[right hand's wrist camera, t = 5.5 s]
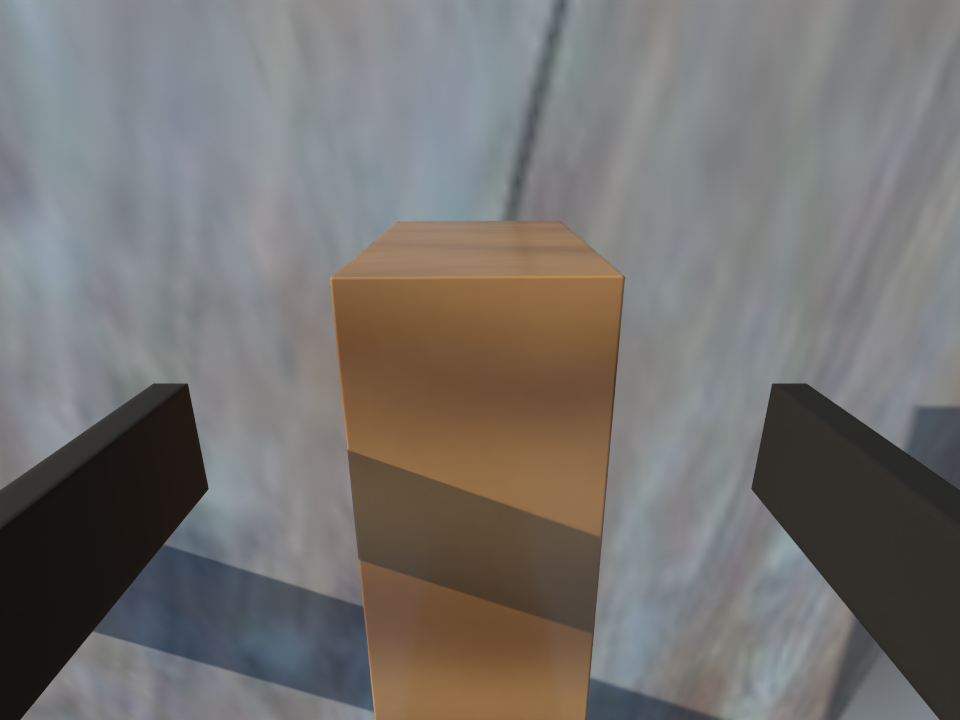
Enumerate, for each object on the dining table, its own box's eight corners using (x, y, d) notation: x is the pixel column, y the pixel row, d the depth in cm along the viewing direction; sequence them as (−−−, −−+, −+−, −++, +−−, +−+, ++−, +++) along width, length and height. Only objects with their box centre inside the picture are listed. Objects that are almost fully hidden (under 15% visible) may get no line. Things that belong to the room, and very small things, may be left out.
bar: (397, 221, 20) (329, 276, 11) (561, 220, 20) (625, 275, 11) (427, 751, 29) (404, 1008, 21) (537, 751, 29) (561, 1007, 20)
